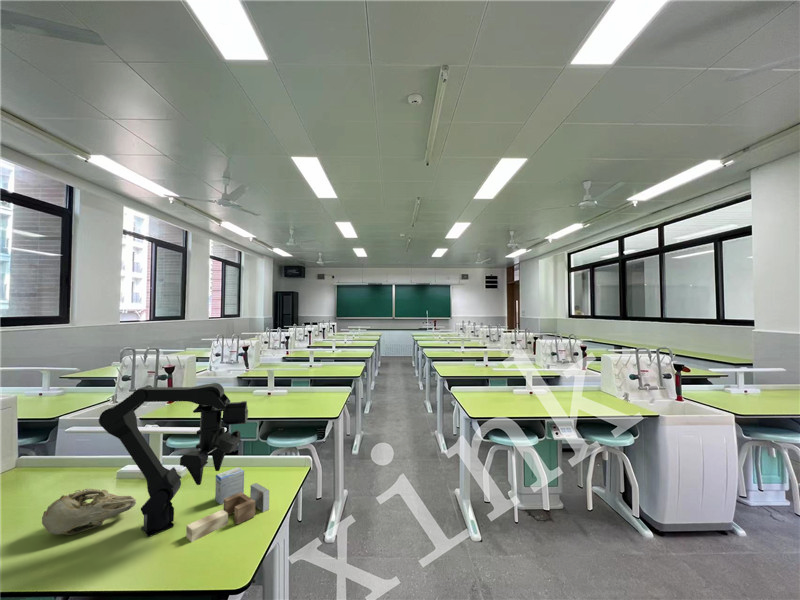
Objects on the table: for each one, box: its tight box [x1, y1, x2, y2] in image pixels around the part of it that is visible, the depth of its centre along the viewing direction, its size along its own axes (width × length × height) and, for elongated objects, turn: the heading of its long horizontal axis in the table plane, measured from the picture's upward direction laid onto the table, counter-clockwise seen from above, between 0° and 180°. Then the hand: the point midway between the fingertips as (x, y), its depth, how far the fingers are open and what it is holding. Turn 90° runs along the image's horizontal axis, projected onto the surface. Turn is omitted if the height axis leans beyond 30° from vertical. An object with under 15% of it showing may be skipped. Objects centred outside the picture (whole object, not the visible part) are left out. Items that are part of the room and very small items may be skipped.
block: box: [185, 509, 229, 543], centre depth 100 cm, size 10×4×4 cm, turn 143°
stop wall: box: [249, 482, 270, 513], centre depth 112 cm, size 2×8×6 cm, turn 52°
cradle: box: [223, 492, 256, 525], centre depth 107 cm, size 6×9×4 cm, turn 52°
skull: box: [41, 488, 137, 536], centre depth 102 cm, size 11×20×15 cm
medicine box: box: [214, 467, 245, 505], centre depth 118 cm, size 8×4×9 cm, turn 141°
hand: (208, 477), depth 105 cm, fingers open, 9 cm apart
